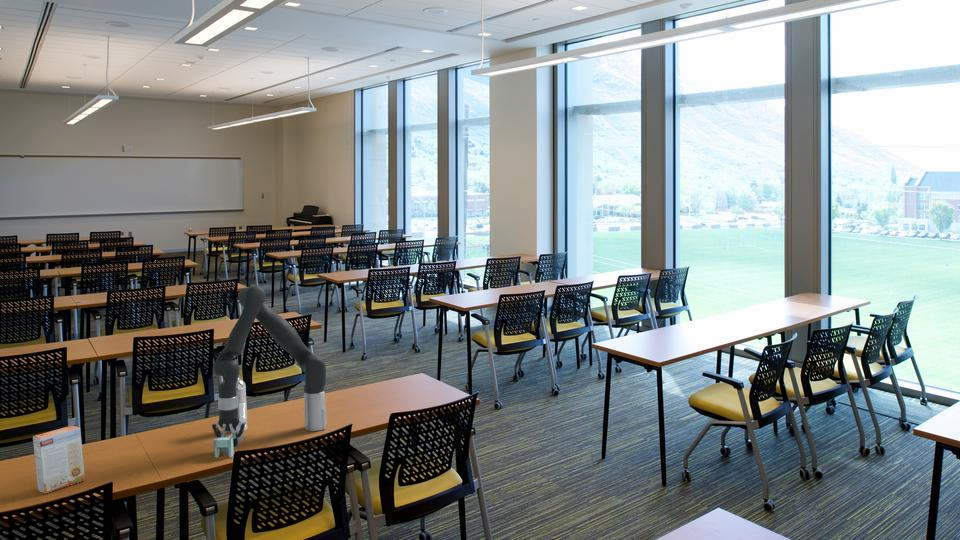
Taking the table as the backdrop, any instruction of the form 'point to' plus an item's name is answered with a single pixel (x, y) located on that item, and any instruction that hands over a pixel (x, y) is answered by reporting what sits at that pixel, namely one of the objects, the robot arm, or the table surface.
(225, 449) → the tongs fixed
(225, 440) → the lock collar
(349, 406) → the table surface
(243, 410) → the water bottle
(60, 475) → the cracker box
